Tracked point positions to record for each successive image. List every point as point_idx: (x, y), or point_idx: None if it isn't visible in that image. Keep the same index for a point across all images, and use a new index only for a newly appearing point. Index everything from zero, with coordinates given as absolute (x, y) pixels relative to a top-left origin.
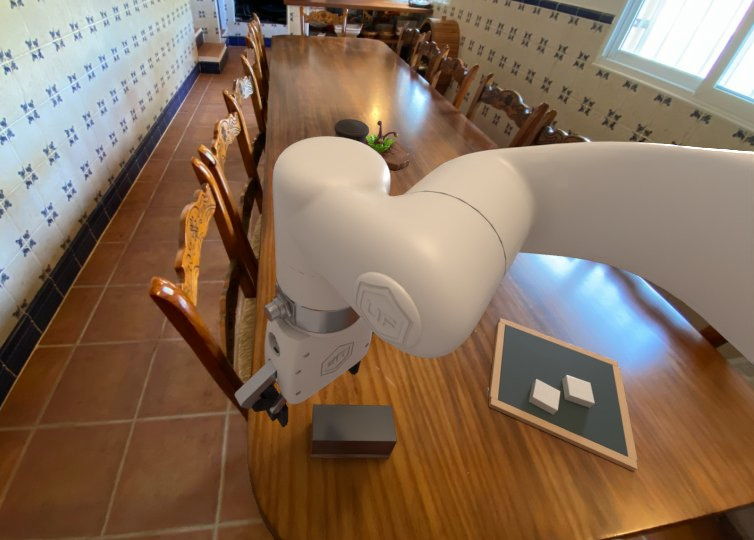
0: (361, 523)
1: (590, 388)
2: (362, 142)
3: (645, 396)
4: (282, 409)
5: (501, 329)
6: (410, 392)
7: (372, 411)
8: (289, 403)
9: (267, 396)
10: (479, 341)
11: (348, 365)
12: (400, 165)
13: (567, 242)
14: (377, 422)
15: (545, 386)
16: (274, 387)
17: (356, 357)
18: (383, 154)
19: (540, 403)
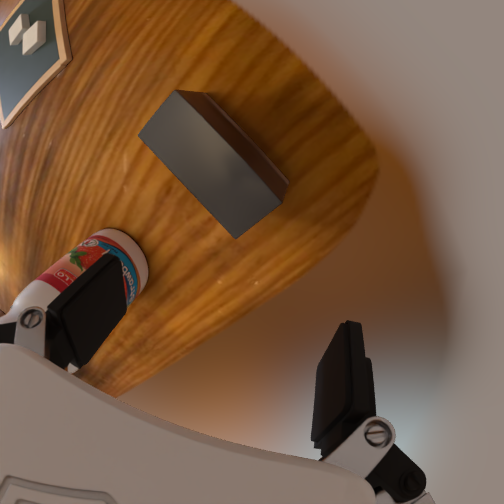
0: (302, 73)
1: (12, 26)
2: None
3: (8, 8)
4: (363, 414)
5: (8, 118)
6: (116, 131)
7: (167, 152)
8: (374, 494)
9: (369, 481)
10: (28, 123)
11: (50, 413)
12: (1, 316)
13: None
14: (174, 133)
15: (24, 44)
16: (323, 454)
17: (9, 404)
18: None
19: (40, 33)
